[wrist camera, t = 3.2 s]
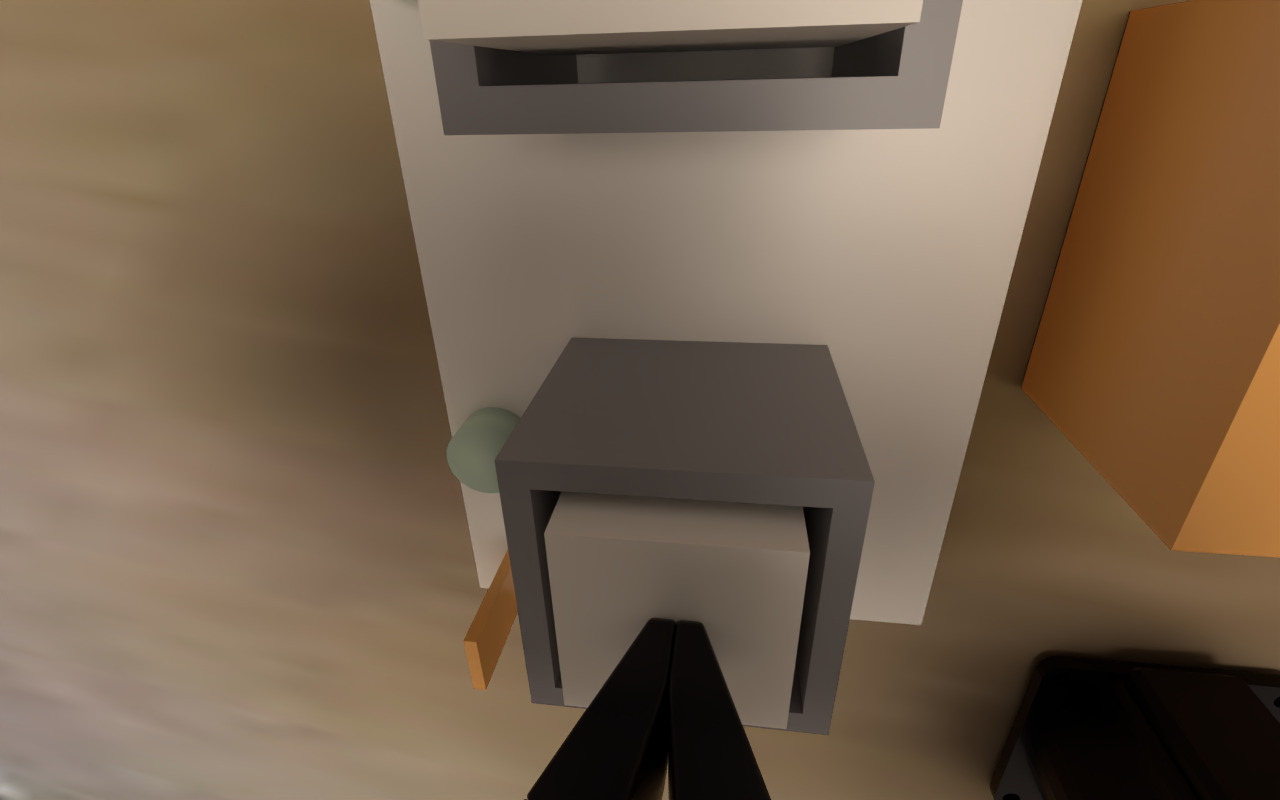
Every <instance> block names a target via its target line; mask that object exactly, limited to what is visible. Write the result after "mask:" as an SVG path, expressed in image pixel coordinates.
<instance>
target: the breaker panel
mask: <svg viewBox="0 0 1280 800" xmlns="http://www.w3.org/2000/svg"><path fill="white" fill-rule="evenodd" d="M370 4H371V10H372V15H373V20H374V26H375V31H376V36H377V42H378V47H379V52H380V58H381V63H382V68H383V74H384V79H385V84H386V89H387V95H388V100H389V105H390V111H391V116H392V121H393V127H394V132H395V137H396V143H397V148H398V153H399V159H400V164H401V169H402V175H403V180H404V185H405V190H406V196H407V201H408V206H409V212H410V217H411V222H412V228H413V233H414V238H415V244H416V249H417V254H418V260H419V265H420V270H421V276H422V281H423V286H424V291H425V297H426V302H427V307H428V313H429V318H430V323H431V329H432V334H433V339H434V345H435V350H436V355H437V361H438V366H439V371H440V377H441V382H442V387H443V392H444V398H445V403H446V408H447V414H448V419H449V424H450V430H451V435H452V439H451V440H450V442H449V444H448V446H447V451H446V456H447V462H448V465H449V467H450V469H451V471H452V473H453V474H454V475H455V476H456V478H457V479H458V480H459V481H460V483H461V488H462V493H463V499H464V504H465V509H466V515H467V520H468V525H469V531H470V536H471V541H472V547H473V552H474V557H475V563H476V568H477V573H478V579H479V584H480V588H489V589H488V591H487V593H486V595H485V598H484V600H483V602H482V604H481V606H480V608H479V610H478V612H477V614H476V616H475V618H474V620H473V622H472V625H471V627H470V629H469V631H468V633H467V635H466V637H465V639H464V645H465V650H466V655H467V659H468V664H469V668H470V673H471V678H472V682H473V687H474V689H481V690H486V689H487V686H488V684H489V681H490V679H491V676H492V674H493V671H494V669H495V667H496V664H497V662H498V659H499V657H500V654H501V652H502V649H503V647H504V644H505V642H506V639H507V637H508V635H509V632H510V630H511V627H512V625H513V622H514V620H515V617H516V615H517V612H518V616H519V623H520V629H521V636H522V642H523V649H524V655H525V662H526V668H527V675H528V681H529V687H530V694H531V700H532V703H538V704H547V705H556V706H565V707H575V708H584V709H587V708H586V707H576V706H567V705H564V698H563V689H562V681H561V672H560V664H559V656H558V647H557V639H556V630H555V622H554V613H553V605H552V596H551V588H550V580H549V571H548V563H547V554H546V546H545V537H544V533H545V530H546V528H547V525H548V523H549V521H550V518H551V516H552V513H553V511H554V509H555V506H556V504H557V501H558V499H559V497H560V494H561V492H562V491H564V492H580V493H596V494H611V495H627V496H643V497H659V498H675V499H691V500H707V501H723V502H739V503H755V504H771V505H787V506H803V511H804V518H805V524H806V530H807V536H808V543H809V549H810V557H809V565H808V572H807V580H806V587H805V595H804V602H803V610H802V617H801V625H800V632H799V639H798V647H797V654H796V662H795V669H794V677H793V684H792V692H791V699H790V707H789V714H788V722H787V729H779V728H770V727H760V726H751V725H743V726H749V727H758V728H767V729H777V730H786V731H795V732H804V733H813V734H822V735H828V734H829V729H830V723H831V718H832V713H833V707H834V702H835V696H836V691H837V685H838V680H839V674H840V669H841V663H842V658H843V652H844V647H845V642H846V636H847V631H848V625H849V620H850V619H854V620H866V621H878V622H889V623H901V624H913V625H921V624H922V620H923V616H924V612H925V609H926V605H927V601H928V597H929V593H930V589H931V585H932V581H933V578H934V574H935V570H936V566H937V562H938V558H939V554H940V550H941V547H942V543H943V539H944V535H945V531H946V527H947V523H948V519H949V516H950V512H951V508H952V504H953V500H954V496H955V492H956V488H957V485H958V481H959V477H960V473H961V469H962V465H963V461H964V457H965V454H966V450H967V446H968V442H969V438H970V434H971V430H972V426H973V423H974V419H975V415H976V411H977V407H978V403H979V399H980V395H981V392H982V388H983V384H984V380H985V376H986V372H987V368H988V364H989V361H990V357H991V353H992V349H993V345H994V341H995V337H996V333H997V330H998V326H999V322H1000V318H1001V314H1002V310H1003V306H1004V302H1005V299H1006V295H1007V291H1008V287H1009V283H1010V279H1011V275H1012V271H1013V268H1014V264H1015V260H1016V256H1017V252H1018V248H1019V244H1020V240H1021V237H1022V233H1023V229H1024V225H1025V221H1026V217H1027V213H1028V209H1029V206H1030V202H1031V198H1032V194H1033V190H1034V186H1035V182H1036V178H1037V174H1038V171H1039V167H1040V163H1041V159H1042V155H1043V151H1044V147H1045V143H1046V140H1047V136H1048V132H1049V128H1050V124H1051V120H1052V116H1053V112H1054V109H1055V105H1056V101H1057V97H1058V93H1059V89H1060V85H1061V81H1062V78H1063V74H1064V70H1065V66H1066V62H1067V58H1068V54H1069V50H1070V47H1071V43H1072V39H1073V35H1074V31H1075V27H1076V23H1077V19H1078V16H1079V12H1080V8H1081V4H1082V0H923V5H922V11H921V18H920V22H918V23H915V24H912V25H909V26H905V27H902V28H899V29H895V30H892V31H889V32H885V33H882V34H879V35H875V36H872V37H869V38H865V39H862V40H859V41H855V42H852V43H849V44H846V45H842V46H839V47H811V48H778V49H746V50H714V51H682V52H650V53H617V54H585V55H544V54H536V53H528V52H520V51H512V50H504V49H496V48H488V47H480V46H471V45H463V44H455V43H447V42H439V41H431V40H424V35H423V29H422V23H421V16H420V10H419V4H418V0H370Z"/></svg>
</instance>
